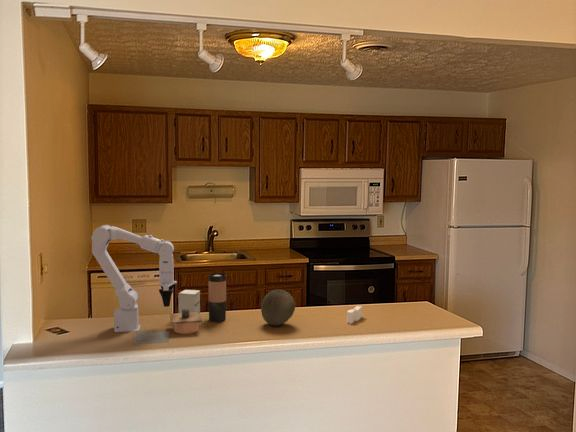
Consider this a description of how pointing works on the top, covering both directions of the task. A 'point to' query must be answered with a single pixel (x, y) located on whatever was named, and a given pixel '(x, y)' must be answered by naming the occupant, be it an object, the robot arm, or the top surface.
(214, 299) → the travel mug
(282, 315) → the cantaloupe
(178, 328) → the terracotta bowl
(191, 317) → the walnut cover
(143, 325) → the top surface
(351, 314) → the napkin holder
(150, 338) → the slate mat
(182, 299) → the supplement box
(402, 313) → the top surface
